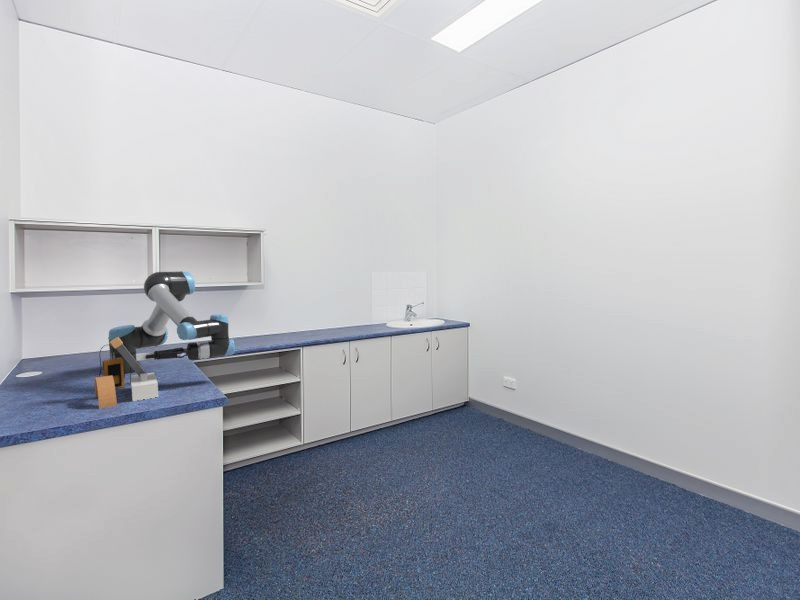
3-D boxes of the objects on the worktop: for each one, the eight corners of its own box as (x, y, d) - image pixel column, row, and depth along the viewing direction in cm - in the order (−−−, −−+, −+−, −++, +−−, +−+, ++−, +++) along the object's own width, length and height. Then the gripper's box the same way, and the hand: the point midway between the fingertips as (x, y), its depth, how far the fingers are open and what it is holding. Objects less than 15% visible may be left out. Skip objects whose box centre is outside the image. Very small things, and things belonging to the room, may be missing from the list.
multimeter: (125, 381, 202) (123, 339, 200) (133, 385, 196) (131, 341, 194) (88, 388, 191) (85, 344, 189) (95, 392, 184) (92, 346, 183)
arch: (112, 394, 182) (110, 371, 181) (116, 405, 166) (115, 380, 165) (95, 397, 178) (93, 373, 178) (98, 409, 163) (96, 383, 162)
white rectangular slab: (131, 388, 190) (130, 368, 189) (155, 385, 194) (153, 366, 194) (132, 401, 171) (131, 379, 170) (158, 397, 176) (157, 375, 175)
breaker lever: (141, 378, 184) (110, 341, 177) (148, 374, 185) (118, 336, 178) (141, 381, 180) (110, 342, 173) (148, 376, 181) (118, 338, 175)
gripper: (200, 361, 188) (137, 369, 175) (195, 356, 198) (136, 363, 185) (199, 344, 187) (136, 350, 174) (195, 340, 198) (135, 346, 185)
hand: (136, 357), depth 180 cm, fingers closed
